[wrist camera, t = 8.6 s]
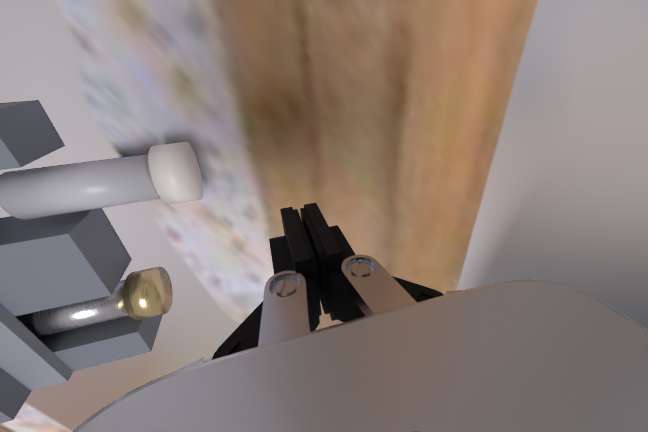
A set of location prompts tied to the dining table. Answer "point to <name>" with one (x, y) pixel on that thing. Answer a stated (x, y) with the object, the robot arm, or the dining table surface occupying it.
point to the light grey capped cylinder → (104, 183)
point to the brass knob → (108, 305)
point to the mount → (55, 277)
